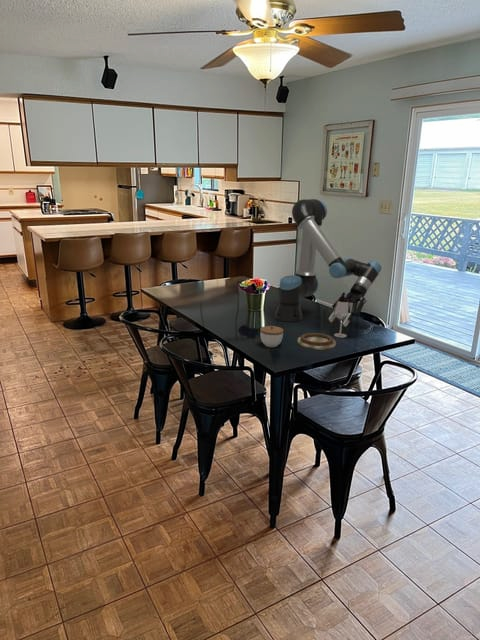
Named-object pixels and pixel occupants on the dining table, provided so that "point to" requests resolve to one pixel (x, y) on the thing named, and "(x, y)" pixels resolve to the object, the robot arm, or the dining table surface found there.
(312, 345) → the ring tray
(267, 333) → the lidded jar
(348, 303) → the wineglass
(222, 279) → the dining table surface
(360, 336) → the dining table surface
